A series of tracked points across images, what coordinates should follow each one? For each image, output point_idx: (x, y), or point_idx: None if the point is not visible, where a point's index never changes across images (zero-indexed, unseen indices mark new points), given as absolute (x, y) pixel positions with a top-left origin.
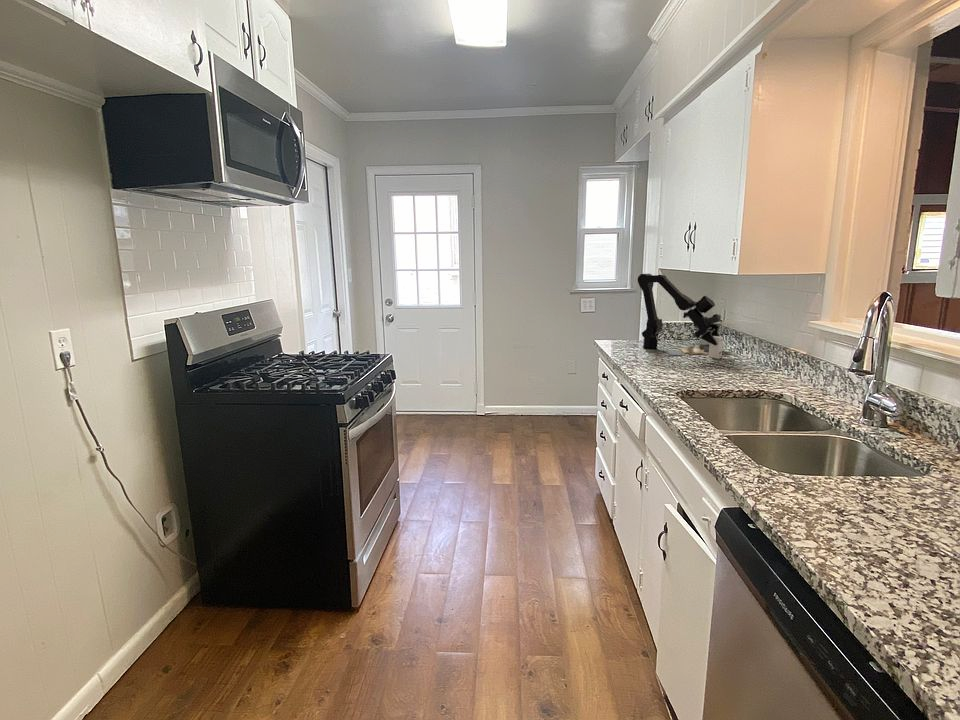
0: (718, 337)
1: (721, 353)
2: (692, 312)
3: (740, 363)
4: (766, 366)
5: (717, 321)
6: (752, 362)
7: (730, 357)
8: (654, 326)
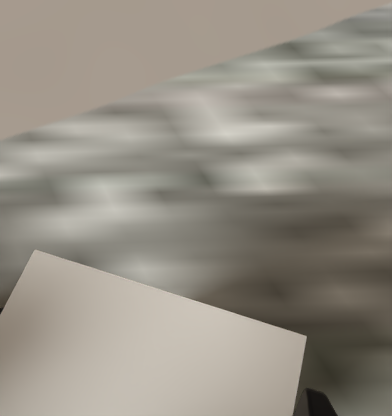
0: (215, 385)
1: None
2: None
3: (388, 147)
4: (376, 8)
5: None
6: (276, 78)
7: (124, 231)
8: None
